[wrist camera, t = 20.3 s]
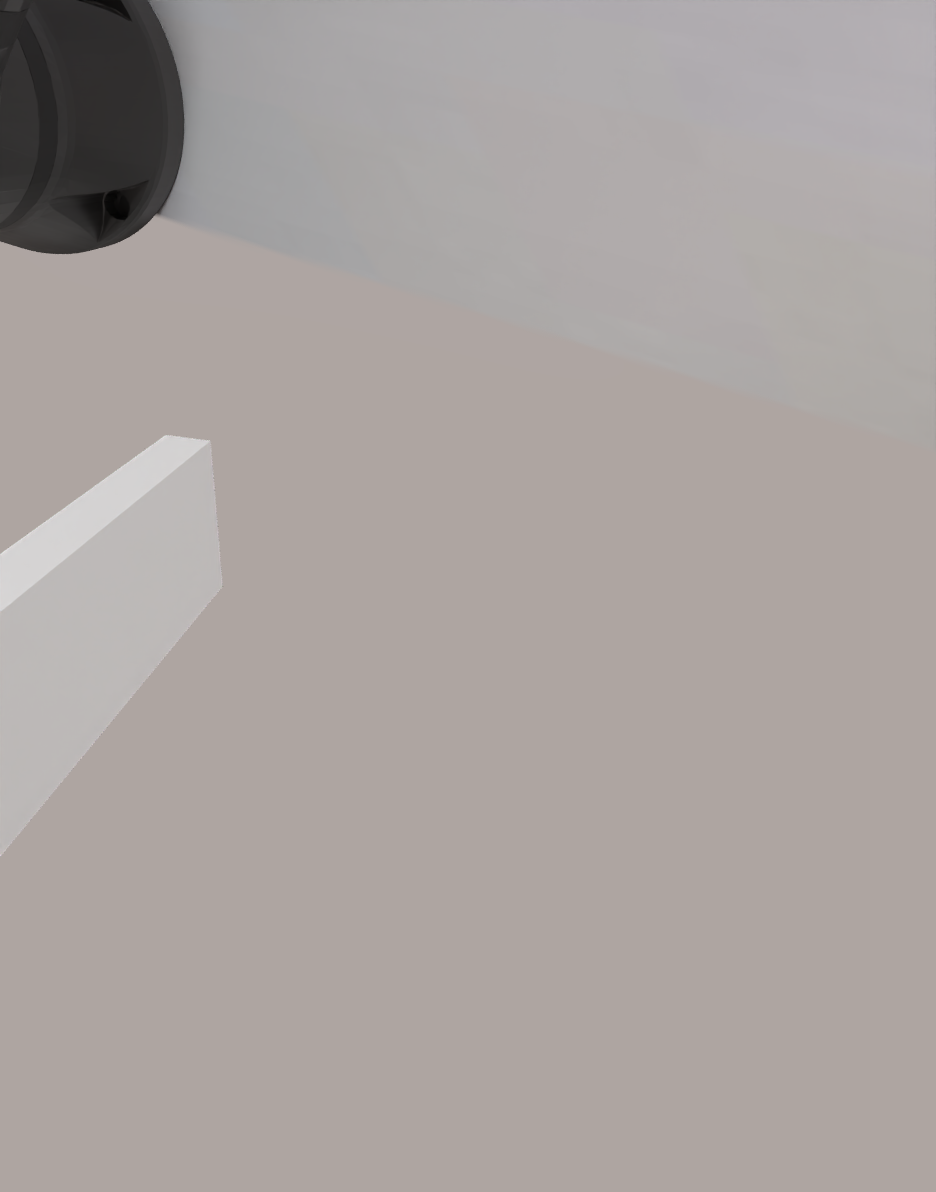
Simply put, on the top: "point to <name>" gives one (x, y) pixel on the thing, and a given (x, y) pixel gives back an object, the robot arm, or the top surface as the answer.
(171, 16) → the top surface
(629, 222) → the top surface
